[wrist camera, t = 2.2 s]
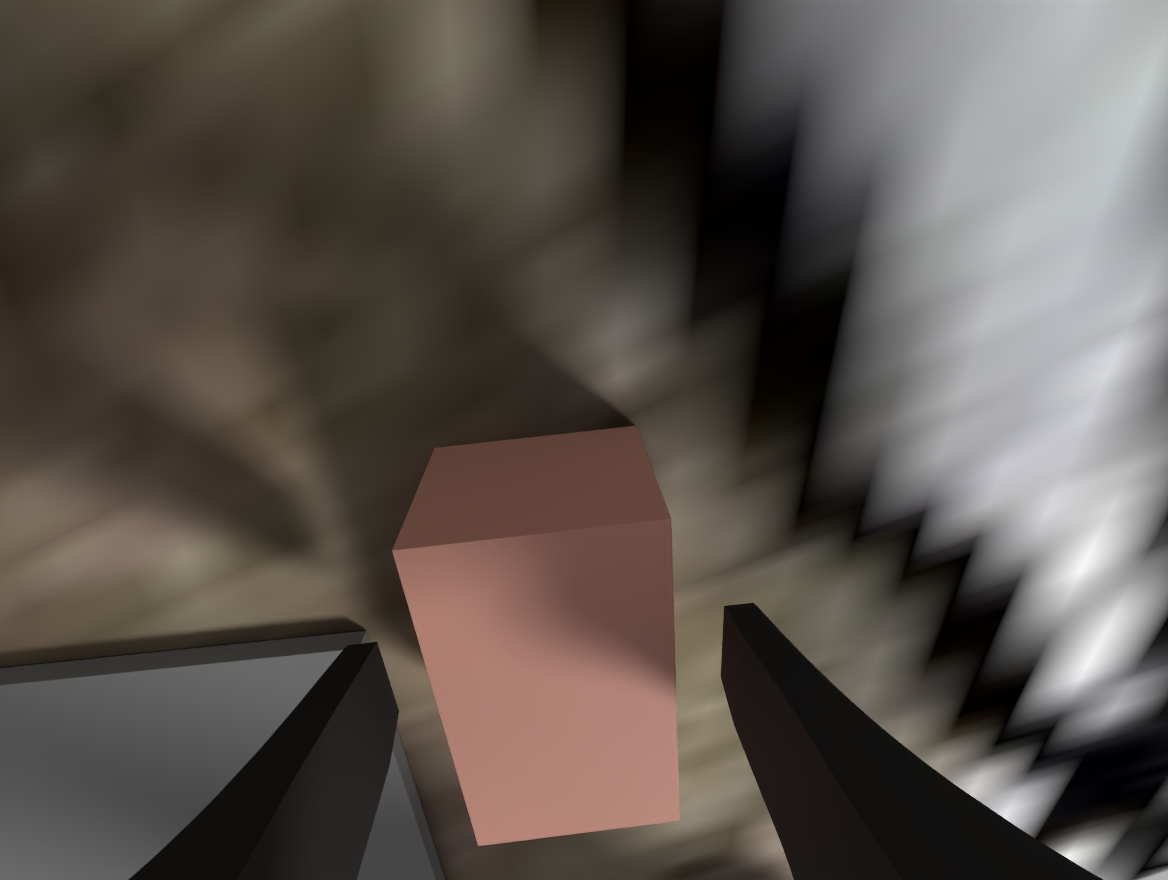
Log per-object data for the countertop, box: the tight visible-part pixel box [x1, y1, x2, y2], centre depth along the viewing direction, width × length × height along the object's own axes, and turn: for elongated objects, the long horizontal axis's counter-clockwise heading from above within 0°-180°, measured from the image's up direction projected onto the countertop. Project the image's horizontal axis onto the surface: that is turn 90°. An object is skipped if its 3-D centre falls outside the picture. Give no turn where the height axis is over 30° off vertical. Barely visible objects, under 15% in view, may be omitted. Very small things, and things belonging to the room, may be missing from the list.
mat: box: [0, 631, 445, 880], centre depth 17 cm, size 18×14×1 cm
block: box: [392, 426, 680, 846], centre depth 12 cm, size 8×4×4 cm, turn 5°
